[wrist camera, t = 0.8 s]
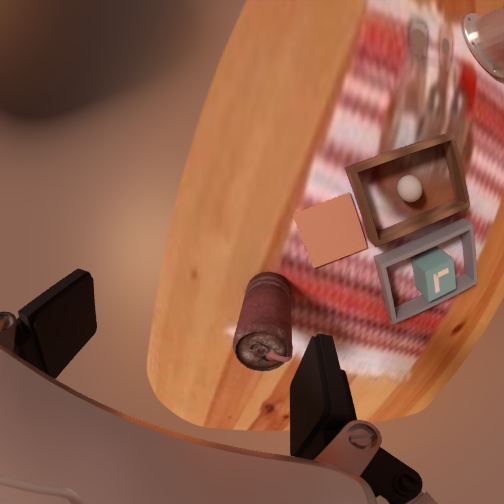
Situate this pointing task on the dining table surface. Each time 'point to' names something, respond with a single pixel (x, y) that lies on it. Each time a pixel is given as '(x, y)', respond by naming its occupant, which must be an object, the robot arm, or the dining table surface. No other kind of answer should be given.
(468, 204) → the bin walnut
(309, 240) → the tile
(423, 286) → the letter cube
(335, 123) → the dining table surface
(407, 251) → the bin grey
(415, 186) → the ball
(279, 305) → the can
